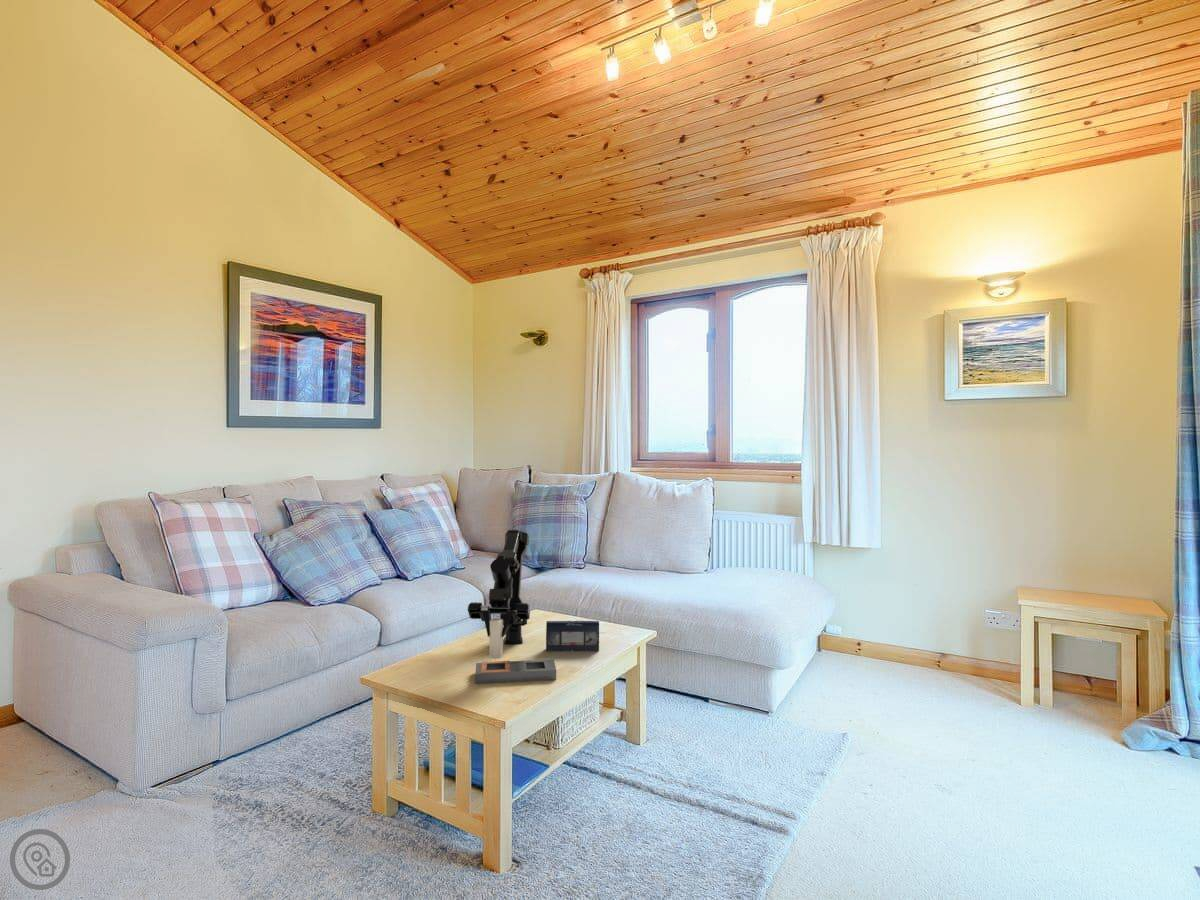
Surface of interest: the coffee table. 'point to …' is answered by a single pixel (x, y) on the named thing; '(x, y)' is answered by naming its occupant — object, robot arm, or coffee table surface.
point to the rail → (515, 671)
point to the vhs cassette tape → (572, 636)
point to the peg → (496, 638)
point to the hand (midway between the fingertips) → (495, 636)
